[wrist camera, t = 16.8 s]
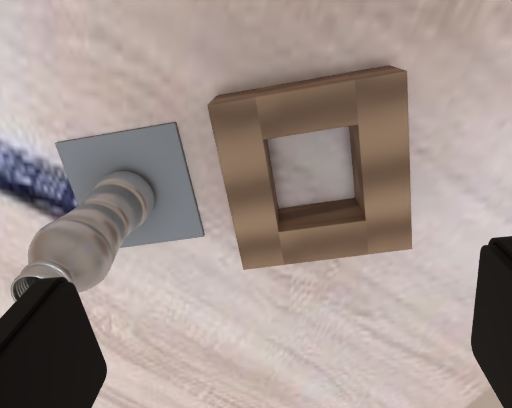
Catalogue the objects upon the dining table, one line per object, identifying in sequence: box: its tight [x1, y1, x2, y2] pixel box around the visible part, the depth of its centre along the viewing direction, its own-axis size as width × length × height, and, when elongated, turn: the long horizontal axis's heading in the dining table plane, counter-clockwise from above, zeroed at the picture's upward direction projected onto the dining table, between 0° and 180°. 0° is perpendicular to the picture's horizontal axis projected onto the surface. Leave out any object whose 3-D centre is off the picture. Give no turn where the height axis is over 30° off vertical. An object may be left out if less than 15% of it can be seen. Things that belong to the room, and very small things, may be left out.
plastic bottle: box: [11, 171, 155, 302], centre depth 38 cm, size 6×7×20 cm
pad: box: [55, 122, 204, 248], centre depth 47 cm, size 14×14×1 cm
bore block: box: [208, 66, 412, 270], centre depth 42 cm, size 18×18×6 cm
